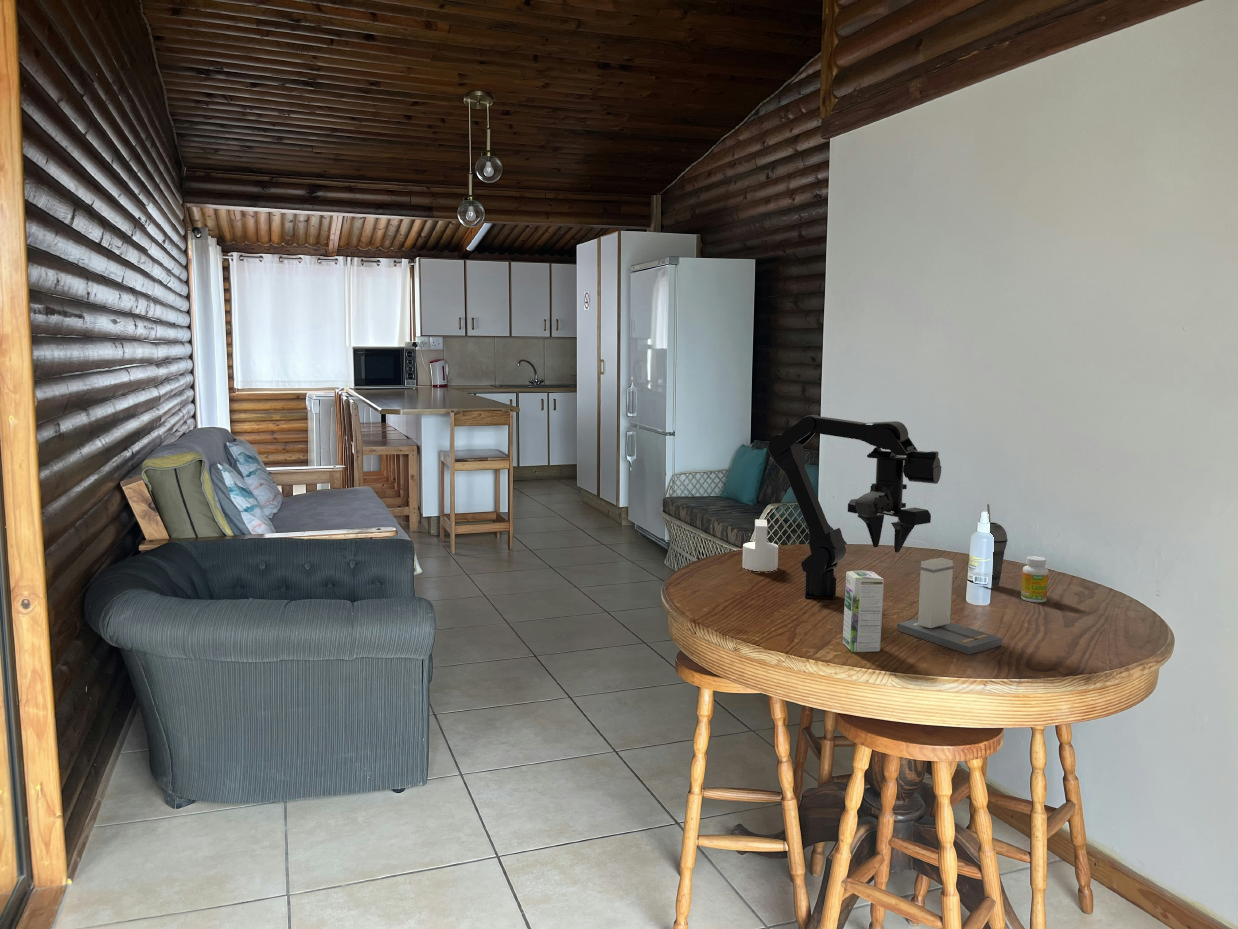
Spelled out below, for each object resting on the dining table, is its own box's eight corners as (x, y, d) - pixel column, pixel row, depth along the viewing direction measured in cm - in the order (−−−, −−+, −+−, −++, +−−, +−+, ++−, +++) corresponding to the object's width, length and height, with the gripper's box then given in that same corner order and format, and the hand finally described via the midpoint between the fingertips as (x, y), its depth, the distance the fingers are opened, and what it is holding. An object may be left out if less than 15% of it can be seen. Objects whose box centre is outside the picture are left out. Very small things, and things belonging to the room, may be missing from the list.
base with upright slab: (742, 563, 240) (743, 518, 239) (777, 564, 239) (778, 520, 238) (742, 571, 232) (743, 525, 230) (778, 573, 230) (779, 526, 229)
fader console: (897, 630, 185) (897, 623, 184) (929, 622, 190) (929, 615, 190) (968, 654, 170) (969, 646, 170) (1001, 645, 176) (1002, 637, 176)
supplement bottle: (1030, 603, 204) (1033, 561, 203) (1015, 596, 210) (1018, 555, 208) (1051, 602, 205) (1054, 560, 204) (1036, 595, 211) (1039, 554, 209)
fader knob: (917, 624, 183) (920, 561, 181) (937, 619, 186) (940, 557, 184) (930, 628, 180) (933, 564, 178) (950, 623, 183) (953, 560, 181)
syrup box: (841, 643, 177) (844, 570, 175) (871, 642, 177) (874, 570, 175) (851, 653, 171) (854, 578, 169) (881, 652, 172) (885, 577, 170)
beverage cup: (1007, 590, 215) (1013, 507, 212) (975, 589, 216) (980, 506, 213) (1001, 582, 222) (1006, 502, 219) (969, 581, 223) (974, 501, 220)
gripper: (831, 477, 201) (828, 545, 203) (898, 488, 185) (895, 563, 187) (866, 473, 207) (863, 540, 209) (934, 484, 191) (930, 556, 193)
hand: (886, 549), depth 199 cm, fingers open, 6 cm apart
